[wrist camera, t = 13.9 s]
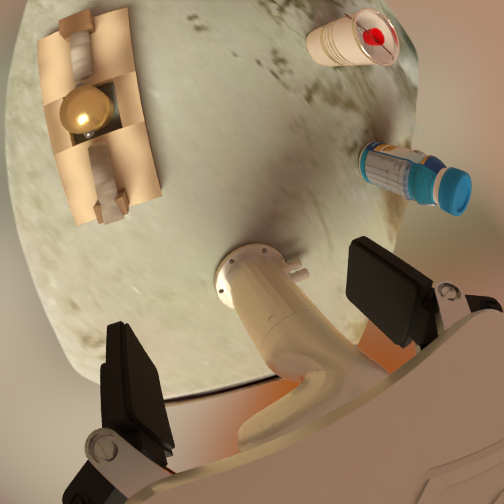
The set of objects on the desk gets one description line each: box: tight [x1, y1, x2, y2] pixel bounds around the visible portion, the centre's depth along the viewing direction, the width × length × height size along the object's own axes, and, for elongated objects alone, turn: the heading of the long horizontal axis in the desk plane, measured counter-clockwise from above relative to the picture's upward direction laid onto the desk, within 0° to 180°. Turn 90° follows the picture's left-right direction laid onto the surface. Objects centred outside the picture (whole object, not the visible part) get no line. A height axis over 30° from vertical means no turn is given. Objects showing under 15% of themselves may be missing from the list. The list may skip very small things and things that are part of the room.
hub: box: [59, 82, 114, 138], centre depth 22 cm, size 5×6×8 cm
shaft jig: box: [37, 7, 162, 226], centre depth 23 cm, size 12×26×8 cm, turn 9°
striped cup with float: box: [306, 8, 400, 67], centre depth 27 cm, size 10×8×12 cm
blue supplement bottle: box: [359, 141, 472, 216], centre depth 37 cm, size 8×8×20 cm
